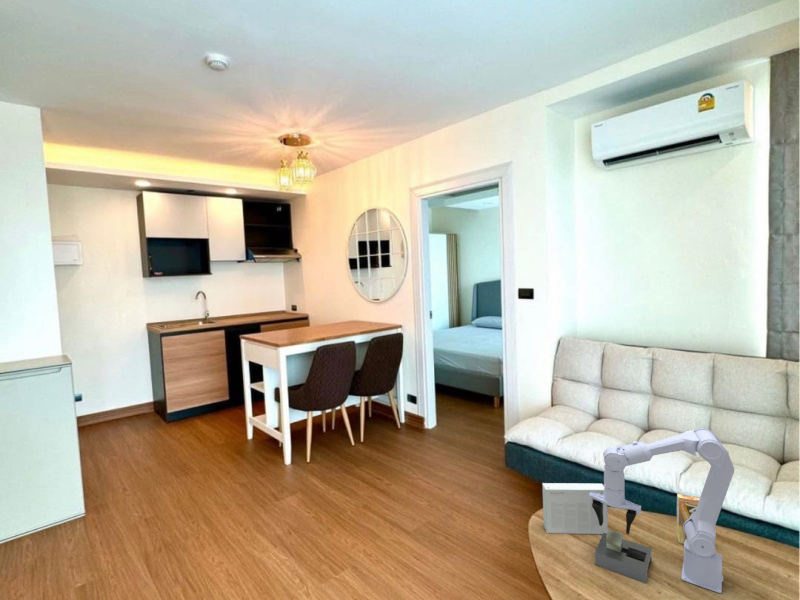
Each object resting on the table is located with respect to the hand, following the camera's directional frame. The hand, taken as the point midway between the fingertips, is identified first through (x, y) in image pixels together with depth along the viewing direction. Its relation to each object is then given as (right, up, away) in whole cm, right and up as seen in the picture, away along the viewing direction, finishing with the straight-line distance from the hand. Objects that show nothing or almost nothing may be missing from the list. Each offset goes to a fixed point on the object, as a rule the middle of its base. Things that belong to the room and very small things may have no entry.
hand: (614, 528), depth 132 cm
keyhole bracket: (+2, -10, -1) cm, 11 cm away
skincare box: (-6, -10, +17) cm, 20 cm away
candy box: (+30, -9, +7) cm, 32 cm away
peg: (+1, -10, +1) cm, 10 cm away
